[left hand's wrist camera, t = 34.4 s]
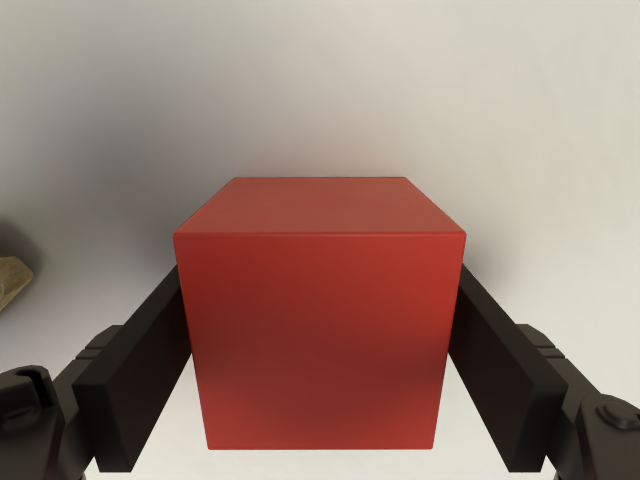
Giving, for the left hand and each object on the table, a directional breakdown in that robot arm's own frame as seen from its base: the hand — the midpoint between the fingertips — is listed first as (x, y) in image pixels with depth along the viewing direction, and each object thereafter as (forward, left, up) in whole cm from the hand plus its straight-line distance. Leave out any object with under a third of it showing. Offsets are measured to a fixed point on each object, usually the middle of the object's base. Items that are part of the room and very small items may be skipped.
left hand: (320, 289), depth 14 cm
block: (0, 0, -3) cm, 3 cm away
